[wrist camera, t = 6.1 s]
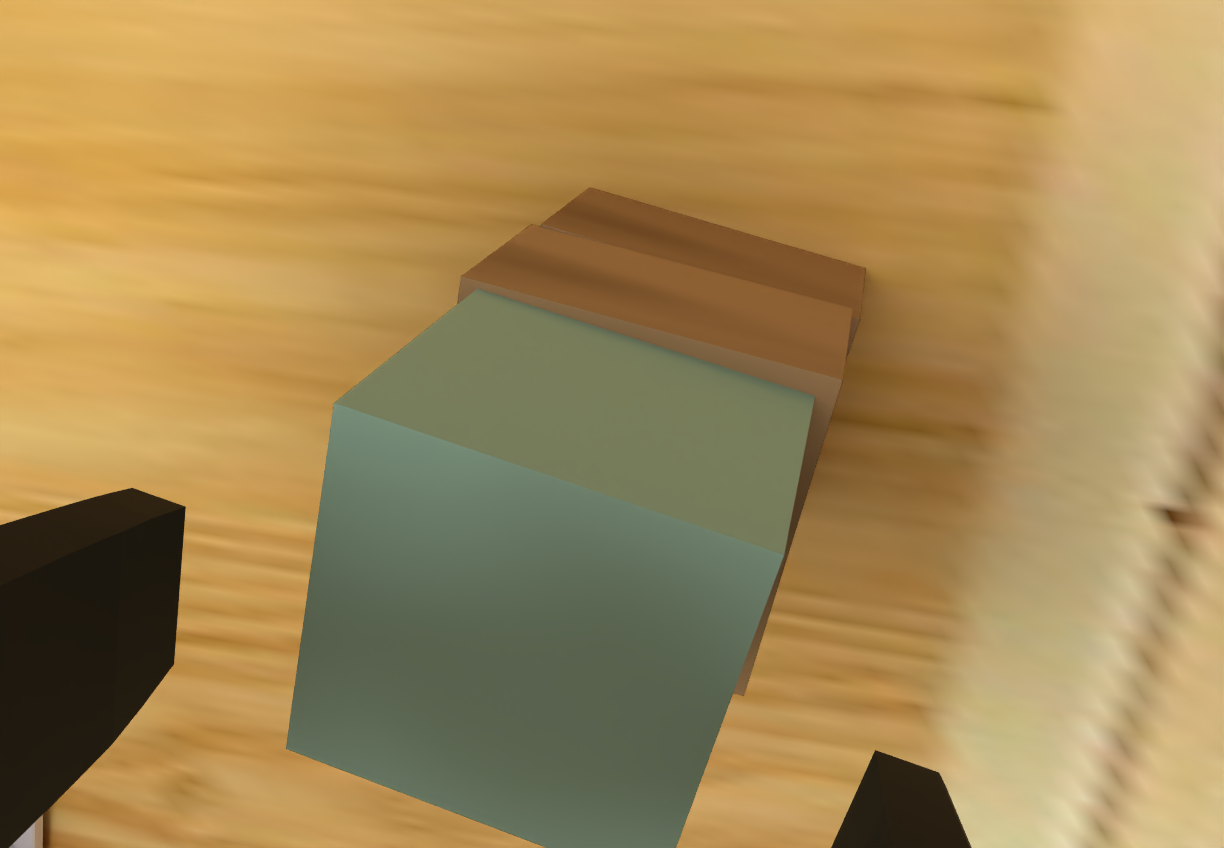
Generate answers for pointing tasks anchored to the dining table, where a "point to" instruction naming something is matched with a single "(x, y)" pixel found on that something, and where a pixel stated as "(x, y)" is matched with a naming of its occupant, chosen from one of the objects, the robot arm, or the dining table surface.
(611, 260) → the tower mid
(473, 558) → the teal block
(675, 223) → the tower base
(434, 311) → the dining table surface
